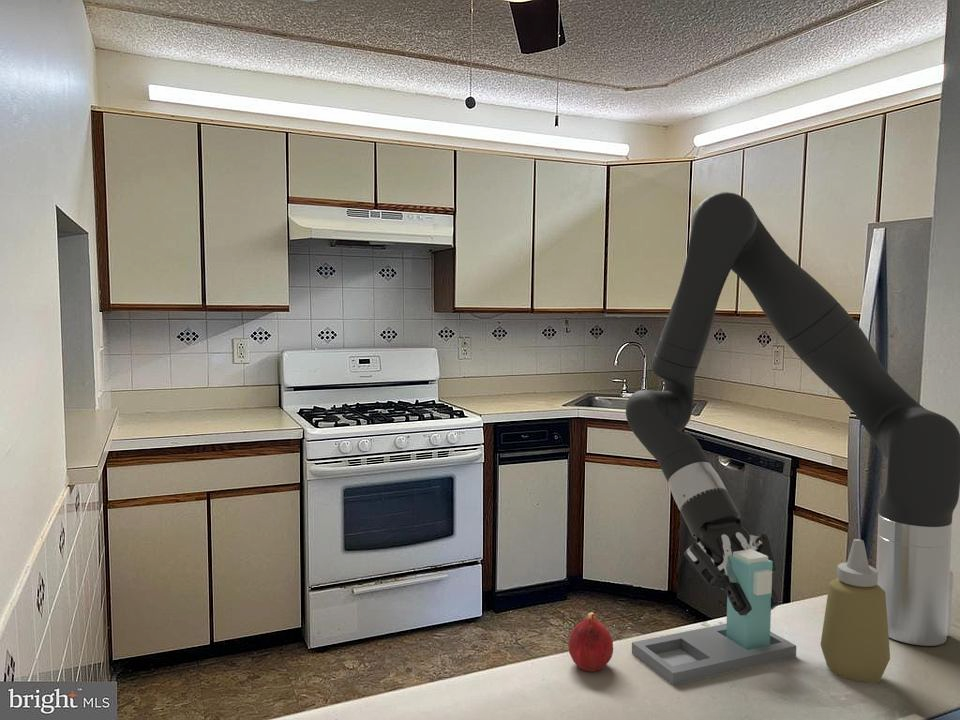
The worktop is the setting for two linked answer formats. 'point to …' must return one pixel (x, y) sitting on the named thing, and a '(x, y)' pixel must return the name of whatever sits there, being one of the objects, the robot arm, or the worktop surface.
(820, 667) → the worktop surface
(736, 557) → the plug
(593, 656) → the onion
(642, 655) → the panel
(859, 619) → the squeeze bottle
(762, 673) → the worktop surface
